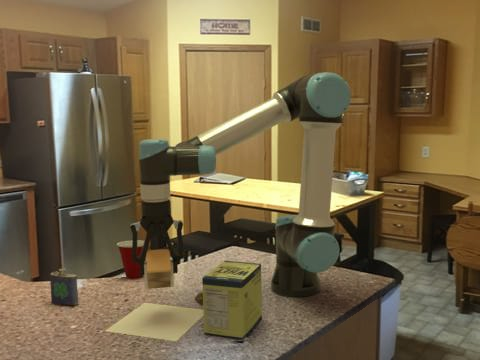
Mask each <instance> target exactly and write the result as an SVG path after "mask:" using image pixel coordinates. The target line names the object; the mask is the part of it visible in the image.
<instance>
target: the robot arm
mask: <svg viewBox="0 0 480 360" xmlns="http://www.w3.org/2000/svg"><path fill="white" fill-rule="evenodd" d="M351 98H352V94H351V89H350V86H349V84H348V82H347V81H346V79H344V77H342V75H341V76H340V75H339V74H338V73H334V72H326V71H324V72H318V73H317V72H316V73H313V74H307V75H303V76H301V77H300V78H298V79H296V80H295V81H293V82H291V83H290V84H288V85H286V86H284V87H283V88H281V89H279V90H278V91H275V92H274V93H273V95H272V96H271V97H270V98H269V99H267V100H265V101H263V102H262V103H259V104H257V105H255V106H254V107H252V108H249V109H248V110H246V111H243V112H242V113H240V114H237V115H235V116H233V117H232V118H230V119H227V120H226V121H224V122H222V123H220V124H217V125H216V126H214V127H211V128H210V129H208V130H206V131H204V132H201V133H200V134H198V135H195V136H193V137H192V138H190V139H188V140H185V141H181V142H179V143H177V144H175V145H174V146H170V144H169V141H168V139H167V138H166V139H165V138H153V139H152V138H151V139H149V138H148V139H142V140H141V141H140V142H139V144H138V163H139V165H138V166H139V180H140V181H139V182H140V183H139V186H140V187H139V188H140V199H141V200H142V201H141V203H140V206H141V218H140V221H138V222H132V223H130V227H129V228H130V231H131V233H132V240H133V242H132V261H133V262H136V263H139V265H140V275H141V276H143V277H144V289H145V290H147V289H148V279H147V260H146V261H145V257H146V253H147V250H149V245H150V243H151V239H152V237H155V236H163V238H164V241H165V243H166V247H167V249H169V251H170V258H171V259H170V262H171V287H170V288H174V287H175V282H174V281H175V279H174V278H175V276H174V274H178V271H179V269H178V268H179V267H178V266H179V265H178V262H179V261H180V260H183V259H185V252H184V251H185V250H184V241H183V232H182V230H183V227H184V222H183V220H181V219H180V220H177V219H174V218H173V216H172V207H171V205H172V204H171V202H172V201H171V200H170V198H171V176H173V177H176V176H194V175H198V176H199V175H200V176H204V175H210V174H214V173H215V171H216V168H217V156H218V155H219V154H222V153H224V152H226V151H227V150H230V149H232V148H234V147H235V146H237V145H240V144H241V143H243V142H246V141H248V140H250V139H251V138H254V137H256V136H257V135H260V134H261V133H264V132H266V131H267V130H269V129H272V128H273V127H275V126H277V125H280V124H281V123H283V122H285V123H291V122H293V121H295V120H297V119H298V123H299V124H300V126H301V127H302V128H303V129H304V130H303V142H302V157H301V174H300V188H299V189H300V190H299V201H298V203H299V204H298V205H299V206H298V207H299V208H298V213H297V214H290V215H289V214H288V215H281V216H279V217H277V218H276V220H275V253H276V256H275V259H276V260H275V261H276V262H275V263H276V264H275V268H274V270H273V274H272V277H271V280H270V289H271V291H272V292H273V293H275V294H277V295H279V296H282V297H283V296H284V297H291V298H293V297H295V298H301V297H308V296H313V295H315V294H318V293H319V292H320V290H321V281H320V278H319V274H318V273H324V272H325V271H328V270H330V268H331V267H333V266H334V265H335V264H336V262H337V260H338V259H339V255H340V244H339V243H338V240H337V239H336V238H335V222H334V221H333V219H332V218H331V217H330V216H331V214H330V213H331V205H332V204H331V200H332V190H333V189H332V186H333V177H334V176H333V174H334V161H335V149H336V148H335V145H336V133H337V132H336V131H337V130H339V128H340V127H341V126H342V125H343V117H344V115H343V114H344V113H346V111H347V110H348V108H349V107H350V103H351ZM172 225H173V228H174V229H175V230H176V238H177V240H176V241H177V247H178V248H177V249H178V253H176V251H175V248H174V246H173V243H172V240H171V238H170V235H169V232H168V231H169V230H170V228H171V227H172ZM140 227H142V229H144V231H145V232H146V234H145V237H144V240H143V241H144V245H143V248H142V252H141V255H140V257H137V240H138V232H139V231H140ZM144 261H145V262H144ZM148 290H149V289H148Z"/></svg>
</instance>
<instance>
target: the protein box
mask: <svg viewBox="0 0 480 360" xmlns="http://www.w3.org/2000/svg"><path fill="white" fill-rule="evenodd" d="M201 279H202V292H203V306H202V307H203V309H202V310H203V312H204V316H203V332H204V336H205V335H207V336H211V337H217V338H224V339H225V338H226V339H232V340H233V339H234V340H235V341H233V343H237V344H244V342H246V340H245V338H249V336H250V335H251V333H253V331H254V330H255V329H256V328H257V327H258V325H259V324H260V323H261V322H262V321H263V304H262V303H263V302H262V301H263V299H262V298H263V295H262V293H263V291H262V289H263V288H262V264H261V263H255V262H244V261H243V262H242V261H233V260H223V262H222V263H220V264H219V265H218V266H216V267H215V268H214V269H212V270H210V272H208V273H206V274H205V275H204V276H203V277H202V278H201Z"/></svg>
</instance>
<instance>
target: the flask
mask: <svg viewBox="0 0 480 360" xmlns="http://www.w3.org/2000/svg"><path fill="white" fill-rule="evenodd" d="M66 270H67V269H66V268H59V269H58V271H53V272H51V273H50V274H49V279H50V280H49V281H50V297H51V301H50V303H51V304H52V305H57V306H64V307H67V306H68V307H77V306H78V305H79V293H78V292H79V291H78V290H79V289H78V276H77V274H74V273H73V274H71V273H69V274H68V273H66Z"/></svg>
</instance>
